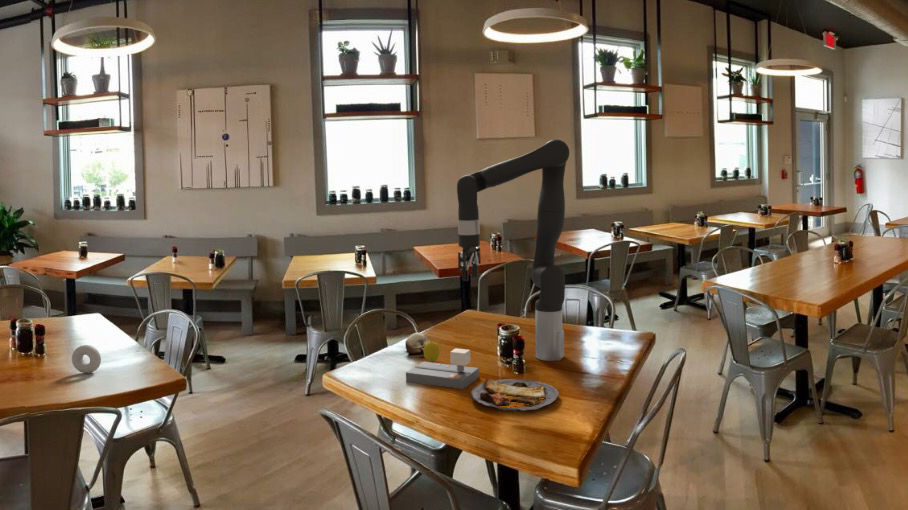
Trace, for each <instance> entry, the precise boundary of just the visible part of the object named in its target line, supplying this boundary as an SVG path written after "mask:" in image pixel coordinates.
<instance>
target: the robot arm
mask: <svg viewBox="0 0 908 510" xmlns="http://www.w3.org/2000/svg"><path fill="white" fill-rule="evenodd" d="M569 157H570V149H569V145H568V144H567V143H566V142H564V141H563V140H561V139H550V140H549V141H547V142H546V143H545V144H543V145H542V146H539V147H538V148H536V149H535V150H532V151H530V152H528V153H525V154H523V155H520V156H517V157H514V158H510V159H508V160H507V159H506V160H504V161H501V162H498V163H496V164H492V165H490V166H488V167H485V168H483V169H482V170H479V171H475V172H473V173H470V174H466V175H462V176H460V178H459V179H458V180H457V182H456V183H457V184H456V194H457V203H458V212H457V213H458V214H457V215H458V223H457V224H458V225H457V233H458V234H457V235H458V236H457V238H458V239H457V241H458V247H460V248H462V251H458V253H457V261H458V262H457V265H458V266H457V268H458V270H460V271H461V281H462V282H468V281H469V268H471V277H472V278H477V277H479V265H480V264H481V263H482V259H481V257H482V256H481V247H480V246H481V233H480V232H481V230H480V229H481V227H480V216H479V215H480V213H479V205H478V193H480V192H482V191H484V190H486V189H488V188H489V189H490V188H494V187H497V186H500V185H503V184H506V183H508V182H511V181H513V180H516V179H517V178H520V177H521V176H524V175H527V174H529V173H532V172H535V171H538V170H541V171H542V174H541V175H542V177H541V178H542V180H541V187H540V192H539V198H538V204H537V215H536V216H537V219H536V236H535V251H534V257H533V263H532V269H531V280H532V282H533V284H534V285H535V286H536V287H538V288H539V299H537V300H536V301H535V308H534V309H535V317H534V318H535V358H537V360H541V361H546V362H547V361H548V362H550V361H558V362H559V361H560V360H562V359H563V358H564V357H565V330H564V329H563V304H564V301H565V295H566V294H565V292H566V278H565V277H566V276H565V272H564V270H563V268H562V267H560V266H559V265H556V264H555V253H556V248H557V244H558V241H559V240H560V237H561V234H562V232H563V229H564V224H565V217H566V216H565V213H566V209H565V208H566V200H565V189H564V181H565V180H564V179H565V172H566V171H565V170H566V164H567V161H568V160H569ZM470 265H471V267H470Z"/></svg>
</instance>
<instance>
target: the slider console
mask: <svg viewBox="0 0 908 510" xmlns="http://www.w3.org/2000/svg"><path fill="white" fill-rule="evenodd" d="M479 373H480V370H479V367H475V366H474V367H472V366H464V371H463V372H458V371H457V365H453V364H446V363H439V362H433V363H431V362H429V361H422V362H420V363H419V364H417V365H416V366H414V367H412V368H410V369H408V370H407V371H406V372H405V382H407V383H413V384H422V385H429V386H437V387H443V386H445V387H446V388H451V387H453V389H458V388H459V389H460V390H464V389H466V388H467V387H468V386H470V385H471V384H472V383H474V382H475V381H476V380H477V379H478V378H479V377H480V374H479ZM445 387H444V388H445Z"/></svg>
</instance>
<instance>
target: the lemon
mask: <svg viewBox="0 0 908 510" xmlns="http://www.w3.org/2000/svg"><path fill="white" fill-rule="evenodd" d="M429 341H430V342H428V343H427V344H426V345H425V347H424V357H423V358H424V359H425V361H426V362H431V363H435V361H437V360H438V359H439V357H440V352H441V351H440V347H439V345H438V343H436V342H435V341H433V340H429Z"/></svg>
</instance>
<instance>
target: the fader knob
mask: <svg viewBox="0 0 908 510" xmlns="http://www.w3.org/2000/svg"><path fill="white" fill-rule="evenodd" d="M449 355H450V356H449V357H450V365H457V371H458V372H463V371H464V366H465V367H467V365H469V364H470V363H471V349H464V348H456V347H455V348H454V349H452V350H451V351H450V352H449Z"/></svg>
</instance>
